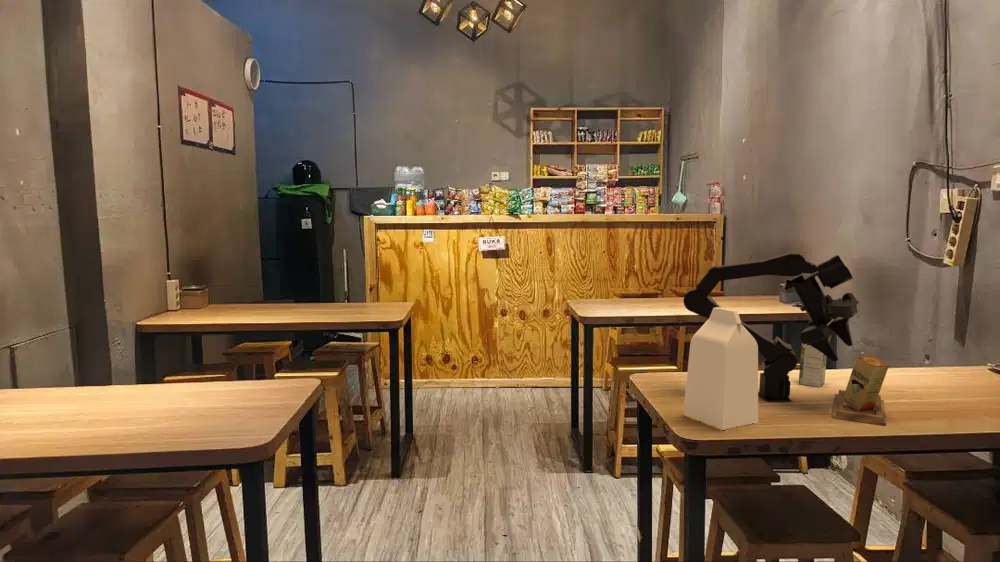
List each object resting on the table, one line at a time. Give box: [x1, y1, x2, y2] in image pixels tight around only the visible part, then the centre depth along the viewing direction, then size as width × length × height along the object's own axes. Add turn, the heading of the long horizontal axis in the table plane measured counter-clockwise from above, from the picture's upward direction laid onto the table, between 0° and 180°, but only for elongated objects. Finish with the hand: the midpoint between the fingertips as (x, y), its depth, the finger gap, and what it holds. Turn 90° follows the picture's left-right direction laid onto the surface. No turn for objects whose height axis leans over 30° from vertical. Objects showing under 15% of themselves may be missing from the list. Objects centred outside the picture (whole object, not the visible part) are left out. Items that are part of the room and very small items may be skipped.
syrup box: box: [798, 343, 828, 388], centre depth 183 cm, size 6×6×14 cm
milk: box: [682, 307, 759, 429], centre depth 152 cm, size 12×12×26 cm
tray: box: [831, 389, 887, 426], centre depth 161 cm, size 11×20×2 cm, turn 151°
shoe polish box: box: [842, 355, 890, 411], centre depth 159 cm, size 5×5×12 cm
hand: (843, 353), depth 164 cm, fingers open, 9 cm apart
